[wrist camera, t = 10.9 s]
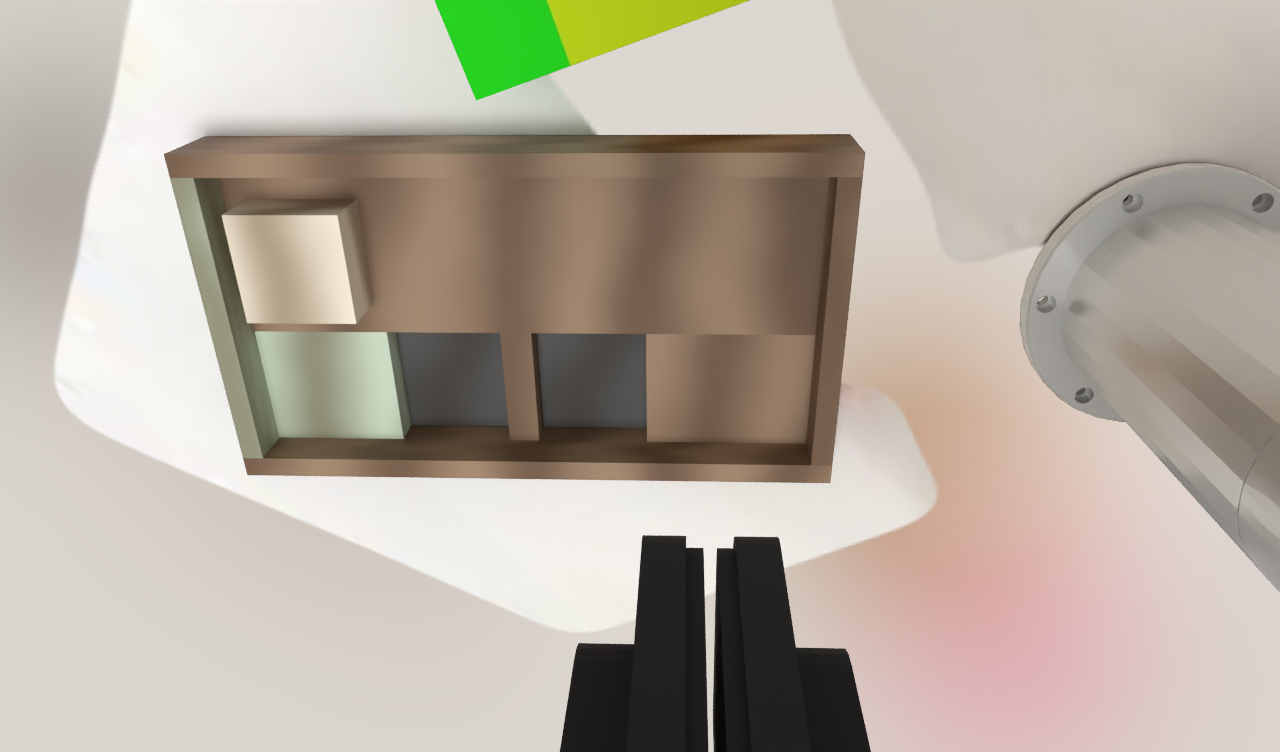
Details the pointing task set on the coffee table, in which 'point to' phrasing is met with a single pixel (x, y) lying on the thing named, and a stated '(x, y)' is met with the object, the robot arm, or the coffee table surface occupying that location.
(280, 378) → the box
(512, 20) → the puzzle toy
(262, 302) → the block
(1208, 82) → the coffee table surface
